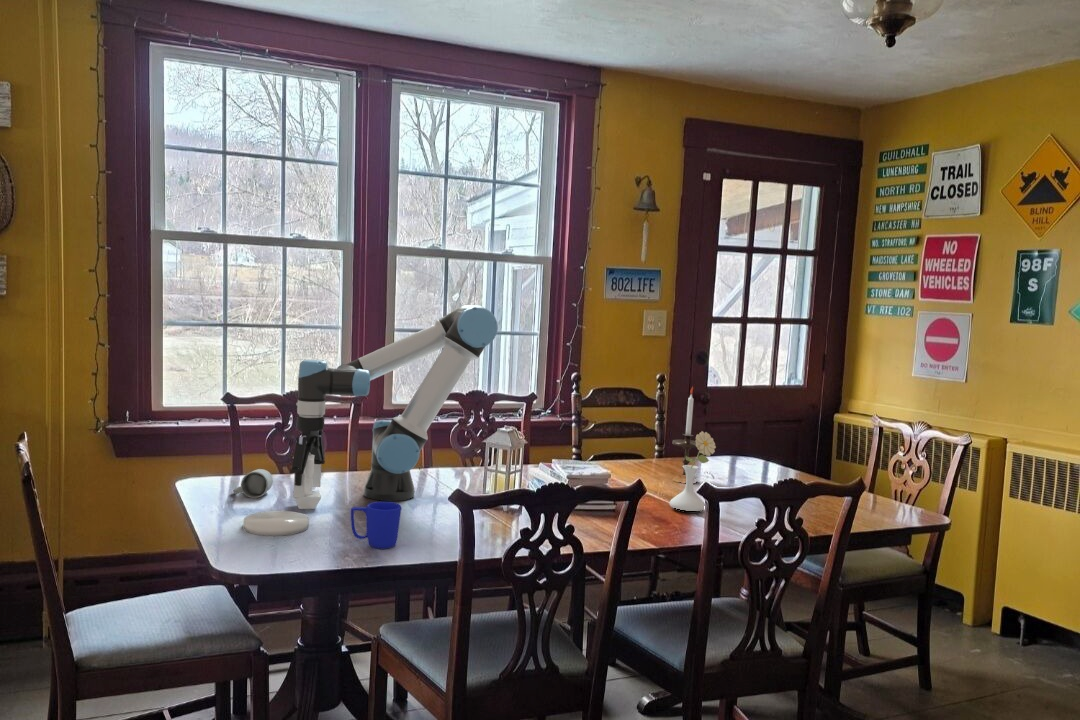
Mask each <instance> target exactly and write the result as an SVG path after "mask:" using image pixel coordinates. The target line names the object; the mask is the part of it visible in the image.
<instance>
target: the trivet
mask: <svg viewBox="0 0 1080 720" xmlns="http://www.w3.org/2000/svg"><path fill="white" fill-rule="evenodd" d="M309 527H310V517H309V516H308V515H306V514H304V513H301V512H298V511H297V512H296V511H290V510H289V511H288V510H267V511H260V512H256V513H255V512H254V513H251V514H249V515H246V516H245V517H244V518H243V525H242V528H243V530H244V531H245V532H247V533H250V534H254V535H259V536H265V537H267V536H271V537H272V536H273V537H276V536H277V537H278V536H290V535H295V534H300V533H302V532H305V531H307V530H308V529H309Z"/></svg>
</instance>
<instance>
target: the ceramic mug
mask: <svg viewBox="0 0 1080 720" xmlns="http://www.w3.org/2000/svg"><path fill="white" fill-rule="evenodd" d="M240 482H241V483H240V486H238V487H236V488H233V489H232V492H233V494H234V495H239V494H241V493H243V494H244V495H245V496H246V497H248V498H251V499H258V498H261V497H263V496H264V495H265V494H266V493H267V492H268V491H269V490H270V489H271V488H272V486H273V483H274V480H273V476H272V473H271V472H270V471H268V470H266V469H264V468H262V469H261V468H258V469H255V470H253V471H250V472H248V473H246V474H245V475H244V476H243V477H242V479H241V481H240Z"/></svg>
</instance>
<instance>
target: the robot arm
mask: <svg viewBox="0 0 1080 720" xmlns="http://www.w3.org/2000/svg"><path fill="white" fill-rule="evenodd" d="M497 334H498V321H497V319H496V316H495V314H493V311H490V309H488V308H486V307H484V306H482V305H479V304H478V305H477V304H476V305H475V304H466V305H461V306H459V307H458V308H456V309H454V310H453V311H450V313H447V314H446V315H444V316H442V317H440V318H437V319H436V321H435V322H434V324H432V325H430V326H428V327H426V328H424V329H422V330H419V331H417V332H414V333H412V334H410V335H408V336H406V337H403V338H401V339H399V340H397V341H394V342H392V343H390V344H388V345H386V346H383V347H381V348H378V349H376V350H374V351H373V352H370V353H368V354H365V355H364V356H361V357H359V358H357V359H355V360H352V361H350V362H347V363H342V364H340V365H338V366H337V368H333V367H331V368H330V367H329V366H328V363H327V361H325V360H321V359H319V360H317V359H304V360H301V361H300V363H299V367H298V377H297V378H298V379H297V380H298V381H297V402H296V403H295V405H296V407H297V408H296V411H297V412H296V413H297V416H296V423H295V425H296V426H295V428H296V430H299V431H301V436H296V443H295V448H294V454H293V459H292V465H291V470H290V473H291V474H294V476H293V491H294V493H293V497H304V487H305V473H304V469H305V466H306V462H307V459H308V455H309V454H312V455H315V457H314V474H313V481H312V488H321V484H322V483H321V479H322V465H325V462H326V461H325V459H326V458H325V450H324V441H323V440H324V439H323V433H324V432H323V430H324V429H325V416H324V415H325V414H326V396H327V395H328V396H349V397H350V396H351V397H366V396H368V395H369V393H370V389H371V387H370V386H371V381H373V380H375V379H377V378H379V377H382V376H384V375H386V374H388V373H390V372H392V371H395V370H398V369H399V368H402V367H403V366H406V365H408V364H410V363H413V362H415V361H417V360H419V359H421V358H424V357H426V356H428V355H430V354H432V353H435V352H438V351H440V350H441V351H440V353H439V354H438V356H437V357H436V359H435V361H434V362H433V364H432V365H431V367H430V369H429V370H428V372H427V374H426V375H425V377H424V378H423V380H422V382H421V383H420V384H419V386H418V388H417V389H416V391H415V393H414V394H413V396H412V397H411V399H410V400H409V402H408V404H407V406H406V407H405V409H404V410H403V412H402V414H401V415H399V416H395V417H393V418H392V420H384V419H382V420H376V421H374V422H373V426H372V446H371V447H372V448H371V451H372V452H371V467H370V468H371V469H370V471H369V475H368V477H367V480H366V482H365V486H364V489H363V496H364V497H366V498H367V499H371V500H375V501H381V502H399V501H407V500H411V499H413V498H414V497H415V493H416V492H415V485H414V483H413V477H412V474H411V470H412V469H413V468H414V467H415V466H416V465H417V463H418V461H419V459H420V455H421V453H420V452H421V451H422V449H423V448H424V446H425V444H426V443H427V441H428V439H429V437H428V430H429V428H430V426H431V425H432V423H433V422H434V420H435V418H436V416H437V415H438V414H439V412H440V410H441V408H442V407H443V406H444V404H445V402H446V400H447V399H448V397H449V396H450V394H451V392H452V391H453V389H454V387H455V386H456V385H457V383H458V382H459V380H460V378H461V376H462V374H463V373H464V372H465V370H466V368H467V367H468V365H469V364H470V362H471V361H474V360H478V359H479V357H480V356H481V354H482V353H483V351H484V350H485V348H486V347H487V346H489V345H490V344H491V343H492V342H493V341H494V340H495V338H496V336H497ZM412 497H413V498H412ZM410 498H411V499H410ZM406 499H407V500H406Z"/></svg>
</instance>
